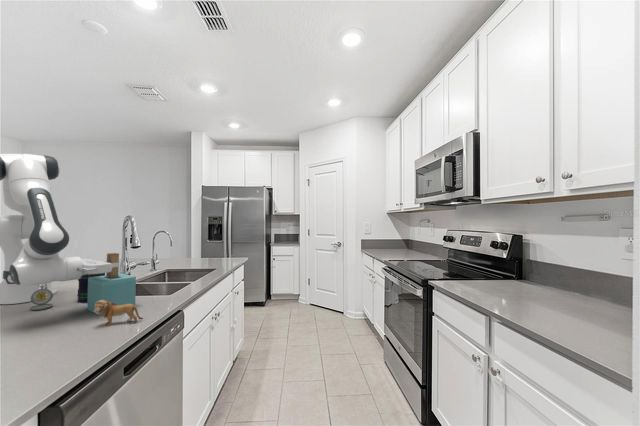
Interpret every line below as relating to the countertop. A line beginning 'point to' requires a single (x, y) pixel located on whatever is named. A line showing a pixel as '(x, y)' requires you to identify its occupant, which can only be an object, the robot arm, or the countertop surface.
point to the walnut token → (112, 259)
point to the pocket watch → (41, 295)
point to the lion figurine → (115, 310)
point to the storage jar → (85, 287)
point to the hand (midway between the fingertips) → (115, 263)
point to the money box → (111, 290)
